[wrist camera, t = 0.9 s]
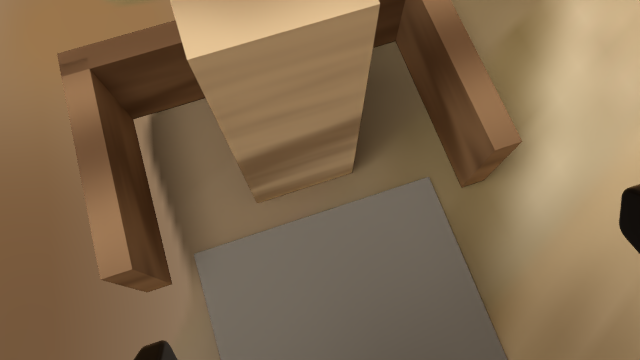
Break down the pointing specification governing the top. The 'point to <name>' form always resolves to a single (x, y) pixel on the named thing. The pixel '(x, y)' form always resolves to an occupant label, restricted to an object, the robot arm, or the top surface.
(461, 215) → the top surface
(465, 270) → the slate mat
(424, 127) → the top surface
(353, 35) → the ash block
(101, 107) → the walnut crate
